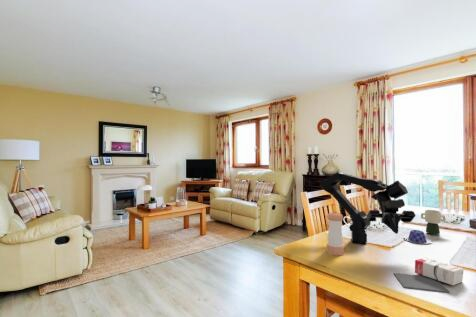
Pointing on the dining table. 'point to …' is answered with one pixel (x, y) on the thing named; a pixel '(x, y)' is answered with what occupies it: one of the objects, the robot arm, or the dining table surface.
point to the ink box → (439, 271)
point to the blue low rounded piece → (418, 237)
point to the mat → (420, 282)
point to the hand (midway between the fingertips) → (396, 233)
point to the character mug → (432, 221)
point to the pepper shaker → (335, 234)
